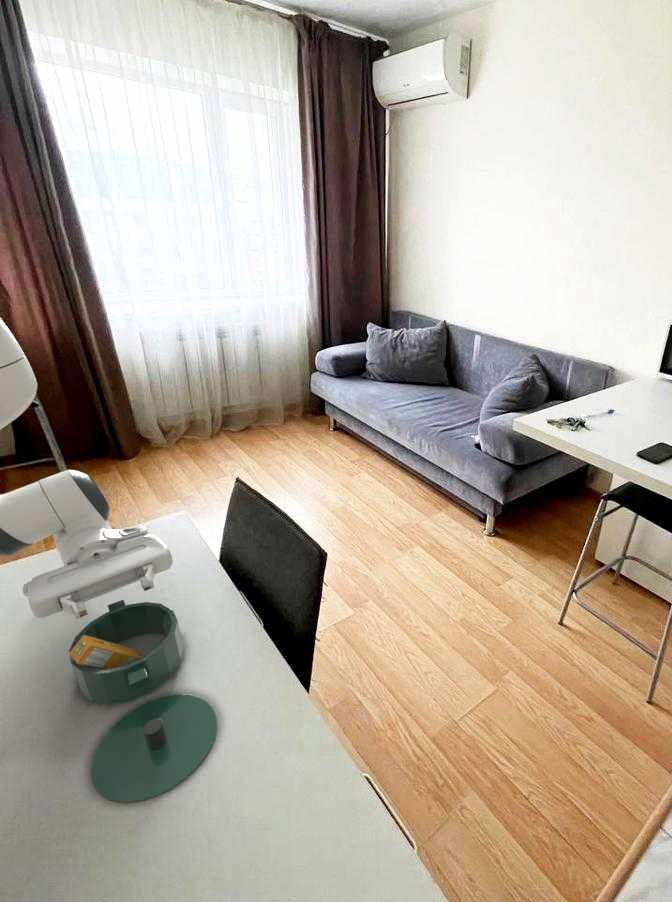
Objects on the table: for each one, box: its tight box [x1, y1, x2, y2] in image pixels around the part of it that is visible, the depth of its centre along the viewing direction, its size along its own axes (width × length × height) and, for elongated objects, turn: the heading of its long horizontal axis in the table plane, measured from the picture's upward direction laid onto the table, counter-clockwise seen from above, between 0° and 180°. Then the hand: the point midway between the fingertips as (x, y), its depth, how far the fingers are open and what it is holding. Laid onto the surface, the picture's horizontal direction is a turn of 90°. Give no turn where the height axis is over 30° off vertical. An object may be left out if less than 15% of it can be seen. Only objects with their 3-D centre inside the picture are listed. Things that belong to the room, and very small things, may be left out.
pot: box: [68, 599, 185, 705], centre depth 81 cm, size 15×20×8 cm
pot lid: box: [90, 693, 218, 803], centre depth 70 cm, size 16×16×5 cm
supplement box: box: [68, 635, 144, 670], centre depth 78 cm, size 3×3×10 cm
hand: (116, 599), depth 79 cm, fingers open, 8 cm apart
